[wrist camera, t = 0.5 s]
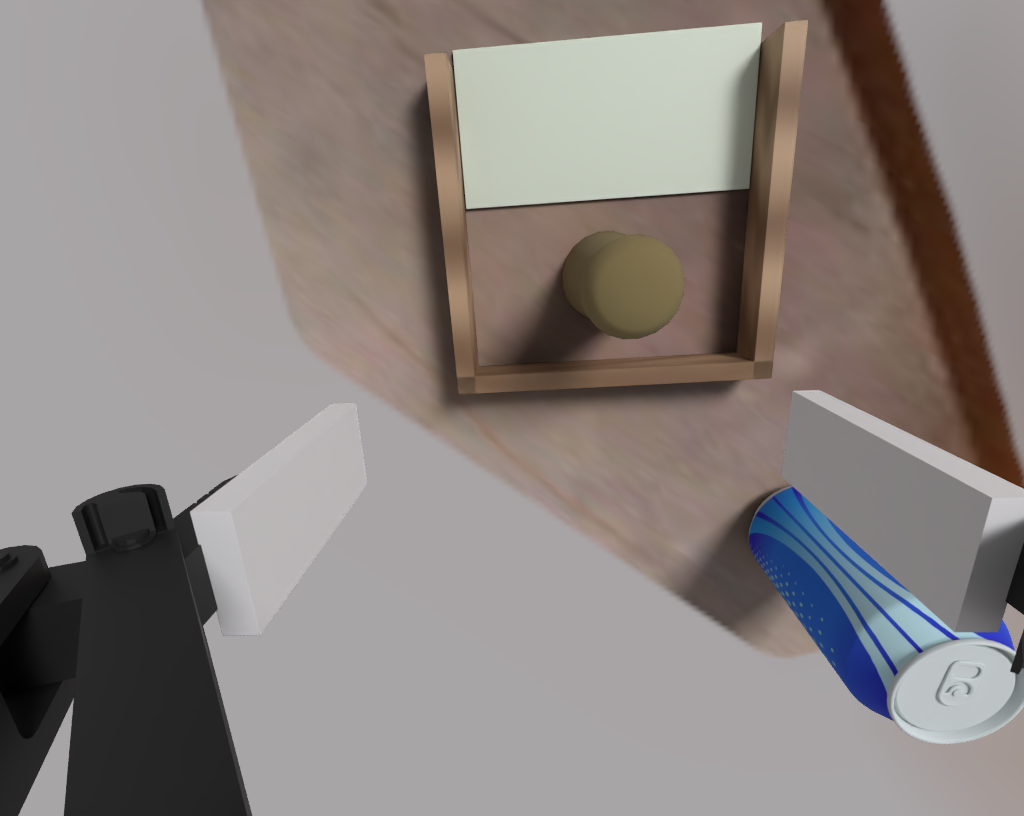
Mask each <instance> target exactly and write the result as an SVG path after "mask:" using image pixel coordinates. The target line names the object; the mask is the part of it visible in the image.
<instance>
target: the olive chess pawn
mask: <svg viewBox="0 0 1024 816" xmlns="http://www.w3.org/2000/svg"><path fill="white" fill-rule="evenodd" d="M684 280H685V279H684V275H683V271H682V268H681V264H680V262H679V260H678V259H677V257H676V256H675V254H674V253H673V251H672V250H671V249H670V248H669V247H668V246H666V245H665V244H663V243H662V242H661V241H659V240H658V239H655V238H651V237H648V236H644V235H629V236H627V235H625V234H621V233H618V232H614V231H605V232H597V233H595V234H592V235H589V236H587V237H585V238H584V239H582V240H581V241H580V242H579V243H578V244H576V245H575V246H574V247H573V249H572V250H571V252H570V253H569V255H568V256H567V258H566V260H565V264H564V267H563V271H562V287H563V290H564V293H565V296H566V299H567V300H568V302H569V303H570V304H571V306H572V307H573V308H574V310H576V311H577V312H579V313H580V314H582V315H583V316H584V317H586V318H590V320H591V321H592V322H593V324H594V325H595V326H596V327H597V328H599V329H600V330H602V331H603V332H605V333H606V334H608V335H610V336H613V337H617V338H621V339H639V338H642V337H645V336H648V335H650V334H653V333H656V332H657V331H658V330H660V329H661V328H662V327H664V326H665V325H666V324H668V323H669V322H670V320H671V319H672V318H673V316H674V315H675V314H676V312H677V311H678V309H679V306H680V304H681V301H682V298H683V296H684Z"/></svg>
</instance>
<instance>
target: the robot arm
mask: <svg viewBox="0 0 1024 816" xmlns="http://www.w3.org/2000/svg"><path fill="white" fill-rule="evenodd" d="M781 476H782V477H783V478H784V479H785V480H786V481H787V482H788V483H790V484H791V485H792V486H793V487H794V488H795V489H796V490H797V491H798V492H799V493H801V494H802V495H803V496H804V497H805V498H806V499H807V500H808V501H809V502H811V503H812V504H813V505H814V506H815V507H816V508H817V509H818V510H819V511H821V512H822V513H823V514H824V515H825V516H826V517H827V518H828V519H829V520H831V521H832V522H833V523H834V524H835V525H836V526H837V527H838V528H839V529H840V530H842V531H843V532H844V533H845V534H846V535H847V536H848V537H849V538H850V539H852V540H853V541H854V542H855V543H856V544H857V545H858V546H859V547H860V548H862V549H863V550H864V551H865V552H866V553H867V554H868V555H869V556H870V557H872V558H873V559H874V560H875V561H876V562H877V563H878V564H879V565H880V566H881V567H883V568H884V569H885V570H886V571H887V572H888V573H889V574H890V575H891V576H893V577H894V578H895V579H896V580H897V581H898V582H899V583H900V584H901V585H903V586H904V587H905V588H906V589H907V590H908V591H909V592H910V593H911V594H913V595H914V596H915V597H916V598H917V599H918V600H919V601H920V602H921V603H922V604H924V605H925V606H926V607H927V608H928V609H929V610H930V611H931V612H932V613H934V614H935V615H936V616H937V617H938V618H939V619H940V620H941V621H942V622H944V623H945V624H946V625H947V626H948V627H949V628H950V629H951V630H952V631H954V632H998V631H999V628H1000V625H1001V622H1002V618H1003V615H1004V612H1005V609H1006V606H1007V603H1009V604H1010V605H1011V606H1013V607H1014V608H1015V609H1017V610H1018V611H1019V612H1021V613H1022V614H1023V615H1024V489H1023V488H1020V487H1018V486H1016V485H1014V484H1012V483H1010V482H1008V481H1006V480H1004V479H1002V478H1000V477H998V476H996V475H994V474H992V473H989V472H987V471H985V470H983V469H981V468H979V467H977V466H975V465H973V464H971V463H969V462H967V461H965V460H963V459H961V458H958V457H956V456H954V455H952V454H950V453H948V452H946V451H944V450H942V449H940V448H938V447H936V446H934V445H932V444H930V443H928V442H925V441H923V440H921V439H919V438H917V437H915V436H913V435H911V434H909V433H907V432H905V431H903V430H901V429H899V428H897V427H894V426H892V425H890V424H888V423H886V422H884V421H882V420H880V419H878V418H876V417H874V416H872V415H870V414H868V413H866V412H863V411H861V410H859V409H857V408H855V407H853V406H851V405H849V404H847V403H845V402H843V401H841V400H839V399H837V398H835V397H832V396H830V395H828V394H826V393H824V392H822V391H820V390H809V391H793V393H792V400H791V408H790V415H789V422H788V430H787V437H786V444H785V452H784V459H783V466H782V474H781ZM366 485H367V478H366V471H365V464H364V457H363V450H362V443H361V435H360V428H359V421H358V414H357V407H356V403H341V404H331V405H329V406H328V407H327V408H326V409H324V410H323V411H321V412H320V413H319V414H317V415H316V416H315V417H314V418H312V419H311V420H310V421H308V422H307V423H306V424H304V425H303V426H302V427H300V428H299V429H298V430H296V431H295V432H294V433H293V434H291V435H290V436H289V437H287V438H286V439H285V440H283V441H282V442H281V443H279V444H278V445H277V446H276V447H274V448H273V449H272V450H270V451H269V452H268V453H266V454H265V455H264V456H263V457H261V458H260V459H258V460H257V461H256V462H255V463H253V464H252V465H251V466H249V467H248V468H247V469H245V470H244V471H243V472H241V473H240V474H238V475H236V476H234V477H232V478H230V479H227V480H225V481H223V482H222V483H220V484H219V485H218V486H216V487H215V488H214V489H212V490H211V491H210V492H209V494H206V495H204V496H203V497H202V498H200V499H199V500H198V501H197V503H194V504H192V505H191V506H190V507H188V508H187V509H185V510H184V511H183V512H181V513H180V514H179V515H177V516H176V517H175V518H174V519H173V518H172V514H171V510H170V507H169V503H168V500H167V496H166V492H165V489H164V488H163V487H161V486H160V485H155V484H141V485H133V486H128V487H123V488H118V489H115V490H112V491H108V492H105V493H102V494H100V495H97V496H95V497H93V498H90V499H88V500H86V501H85V502H83V503H81V504H80V505H78V506H77V507H76V508H75V509H74V511H73V512H72V516H73V519H74V521H75V524H76V527H77V530H78V533H79V536H80V539H81V542H82V545H83V547H84V550H85V553H86V561H83V562H77V563H72V564H67V565H61V566H55V567H50V568H48V566H47V563H46V561H45V558H44V555H43V553H42V550H41V549H40V548H38V547H37V546H29V545H23V546H16V547H8V548H4V549H1V550H0V816H18V815H19V813H20V810H21V808H22V806H23V804H24V802H25V800H26V798H27V795H28V794H29V791H30V789H31V787H32V785H33V783H34V781H35V779H36V777H37V774H38V772H39V770H40V768H41V766H42V764H43V762H44V759H45V757H46V755H47V753H48V751H49V749H50V747H51V745H52V743H53V741H54V738H55V736H56V734H57V732H58V730H59V728H60V726H61V724H62V721H63V719H64V717H65V715H66V713H67V711H68V709H69V707H70V705H71V702H72V700H73V698H74V704H73V716H72V727H71V739H70V750H69V762H68V774H67V785H66V797H65V809H64V816H252V813H251V809H250V805H249V801H248V798H247V794H246V790H245V787H244V782H243V778H242V775H241V771H240V767H239V763H238V759H237V755H236V752H235V747H234V744H233V740H232V736H231V732H230V728H229V724H228V720H227V716H226V713H225V709H224V705H223V701H222V697H221V693H220V689H219V685H218V682H217V678H216V674H215V670H214V666H213V663H212V659H211V655H210V651H209V647H208V643H207V639H206V636H205V632H204V628H203V625H204V624H205V623H206V622H207V620H208V619H209V618H210V617H211V616H212V615H213V614H214V613H215V611H216V612H217V615H218V619H219V623H220V627H221V631H222V634H223V636H253V635H254V636H258V635H259V636H260V635H261V634H262V633H263V631H264V630H265V629H266V627H267V626H268V624H269V623H270V621H271V620H272V619H273V617H274V616H275V614H276V613H277V612H278V610H279V609H280V607H281V606H282V604H283V603H284V601H285V600H286V599H287V597H288V596H289V595H290V593H291V592H292V590H293V589H294V587H295V586H296V585H297V583H298V582H299V580H300V579H301V578H302V576H303V575H304V573H305V571H306V570H307V569H308V567H309V566H310V565H311V563H312V562H313V560H314V559H315V558H316V556H317V555H318V553H319V552H320V551H321V549H322V548H323V546H324V545H325V544H326V542H327V541H328V539H329V538H330V536H331V535H332V534H333V532H334V531H335V529H336V528H337V526H338V525H339V524H340V522H341V521H342V519H343V518H344V517H345V515H346V514H347V512H348V511H349V509H350V508H351V506H352V505H353V503H354V502H355V501H356V499H357V498H358V497H359V495H360V494H361V492H362V491H363V490H364V488H365V487H366ZM1022 668H1024V630H1023V634H1022V636H1021V639H1020V643H1019V646H1018V649H1017V652H1016V654H1015V657H1014V660H1013V663H1012V666H1011V669H1010V672H1013V673H1015V674H1018V675H1019V673H1020V672H1021V670H1022Z"/></svg>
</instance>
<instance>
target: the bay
mask: <svg viewBox="0 0 1024 816" xmlns="http://www.w3.org/2000/svg"><path fill="white" fill-rule="evenodd" d="M807 26H808V20H804V21H793V22H785V23H784V24H783V25H781V26H780V27H779V28H778V29H777V30H776V31H775V32H773V33H772V34H771V35H770V36H769V37H768V38H767V39H765V40H764V41H763V42H762V43H761V47H760V60H759V73H758V85H757V98H756V111H755V124H754V136H753V149H752V162H751V175H750V187H749V200H748V213H747V226H746V239H745V251H744V264H743V277H742V290H741V302H740V315H739V328H738V341H737V352H733V353H714V354H696V355H678V356H659V357H641V358H622V359H604V360H586V361H567V362H549V363H531V364H512V365H494V366H479V362H478V350H477V339H476V327H475V316H474V304H473V293H472V281H471V270H470V258H469V247H468V235H467V224H466V212H465V201H464V189H463V178H462V166H461V155H460V143H459V132H458V120H457V109H456V98H455V86H454V75H453V69H452V67H451V65H450V62H449V60H448V58H447V56H446V53H436V54H425V55H424V59H425V69H426V78H427V88H428V98H429V108H430V118H431V127H432V137H433V147H434V157H435V167H436V176H437V186H438V196H439V206H440V216H441V225H442V235H443V245H444V255H445V265H446V274H447V284H448V294H449V304H450V314H451V324H452V333H453V343H454V353H455V363H456V373H457V382H458V392H459V394H476V393H495V392H515V391H534V390H553V389H573V388H592V387H612V386H631V385H651V384H670V383H690V382H709V381H728V380H748V379H767V378H771V377H772V368H773V358H774V348H775V338H776V329H777V319H778V309H779V299H780V290H781V280H782V270H783V260H784V251H785V241H786V231H787V221H788V211H789V202H790V192H791V182H792V172H793V163H794V153H795V143H796V133H797V124H798V114H799V104H800V94H801V84H802V75H803V65H804V55H805V45H806V36H807Z"/></svg>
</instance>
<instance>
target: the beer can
mask: <svg viewBox="0 0 1024 816" xmlns="http://www.w3.org/2000/svg"><path fill="white" fill-rule="evenodd" d="M749 545H750V549H751V552H752V554H753V556H754V558H755V559H756V560H757V562H758V563H759V565H760V566H761V567H762V569H763V570H764V572H765V573H766V574H767V576H768V577H769V579H770V580H771V581H772V583H773V584H774V586H775V587H776V588H777V590H778V591H779V593H780V594H781V595H782V597H783V598H784V600H785V601H786V602H787V604H788V605H789V607H790V608H791V609H792V611H793V612H794V614H795V615H796V616H797V618H798V619H799V621H800V622H801V623H802V625H803V626H804V628H805V629H806V630H807V632H808V633H809V635H810V636H811V637H812V639H813V640H814V642H815V643H816V644H817V646H818V647H819V649H820V650H821V651H822V653H823V654H824V656H825V657H826V658H827V660H828V661H829V663H830V664H831V665H832V667H833V668H834V670H835V671H836V672H837V674H838V675H839V677H840V678H841V679H842V681H843V682H844V683H845V685H846V686H847V688H848V689H849V691H850V692H851V693H852V694H853V695H854V696H855V698H856V699H857V700H858V701H860V702H861V703H862V704H863V705H865V706H866V707H868V708H869V709H871V710H872V711H874V712H876V713H878V714H880V715H882V716H885V717H887V718H889V719H891V720H893V721H894V722H895V723H896V725H897V726H898V727H899V728H900V729H901V730H902V731H904V732H905V733H907V734H908V735H910V736H911V737H914V738H916V739H918V740H921V741H925V742H929V743H936V744H954V743H963V742H968V741H972V740H975V739H978V738H981V737H984V736H986V735H988V734H991V733H992V732H994V731H996V730H998V729H1000V728H1001V727H1003V726H1004V725H1006V724H1007V723H1008V722H1009V721H1011V720H1012V719H1013V718H1014V717H1015V716H1016V715H1017V714H1018V713H1019V712H1020V710H1021V709H1022V708H1023V706H1024V668H1022V670H1021V672H1020V673H1019V675H1018V674H1015V673H1013V672H1010V669H1011V666H1012V663H1013V660H1014V657H1015V654H1016V652H1015V650H1014V647H1013V643H1012V640H1011V637H1010V634H1009V631H1008V629H1007V627H1006V625H1005V623H1004V622H1003V620H1002V622H1001V625H1000V628H999V631H998V632H954V631H952V630H951V629H950V628H949V627H948V626H947V625H946V624H945V623H944V622H942V621H941V620H940V619H939V618H938V617H937V616H936V615H935V614H934V613H932V612H931V611H930V610H929V609H928V608H927V607H926V606H925V605H924V604H922V603H921V602H920V601H919V600H918V599H917V598H916V597H915V596H914V595H913V594H911V593H910V592H909V591H908V590H907V589H906V588H905V587H904V586H903V585H901V584H900V583H899V582H898V581H897V580H896V579H895V578H894V577H893V576H891V575H890V574H889V573H888V572H887V571H886V570H885V569H884V568H883V567H881V566H880V565H879V564H878V563H877V562H876V561H875V560H874V559H873V558H872V557H870V556H869V555H868V554H867V553H866V552H865V551H864V550H863V549H862V548H860V547H859V546H858V545H857V544H856V543H855V542H854V541H853V540H852V539H850V538H849V537H848V536H847V535H846V534H845V533H844V532H843V531H842V530H840V529H839V528H838V527H837V526H836V525H835V524H834V523H833V522H832V521H831V520H829V519H828V518H827V517H826V516H825V515H824V514H823V513H822V512H821V511H819V510H818V509H817V508H816V507H815V506H814V505H813V504H812V503H811V502H809V501H808V500H807V499H806V498H805V497H804V496H803V495H802V494H801V493H799V492H798V491H797V490H796V489H795V488H794V487H793V486H788V487H785V488H782V489H780V490H778V491H776V492H774V493H773V494H771V495H770V496H768V497H767V498H766V499H765V500H764V501H763V502H762V503H761V504H760V506H759V507H758V509H757V510H756V512H755V514H754V517H753V520H752V522H751V525H750V529H749Z"/></svg>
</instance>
